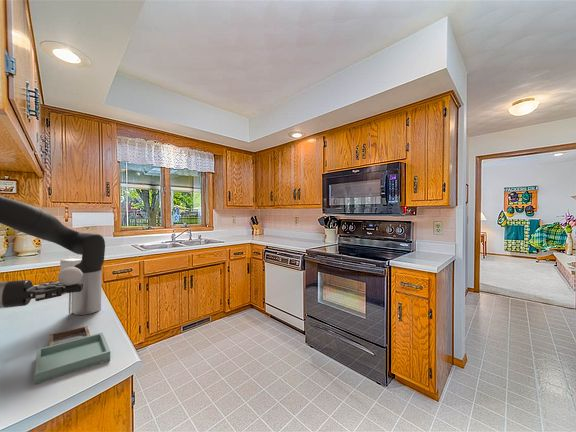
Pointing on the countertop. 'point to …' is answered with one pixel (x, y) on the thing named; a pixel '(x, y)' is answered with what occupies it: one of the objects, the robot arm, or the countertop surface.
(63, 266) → the skincare box
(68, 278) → the lollipop
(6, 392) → the countertop surface
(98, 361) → the tray
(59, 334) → the square wooden frame
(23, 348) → the countertop surface
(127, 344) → the countertop surface
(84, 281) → the robot arm
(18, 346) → the countertop surface
